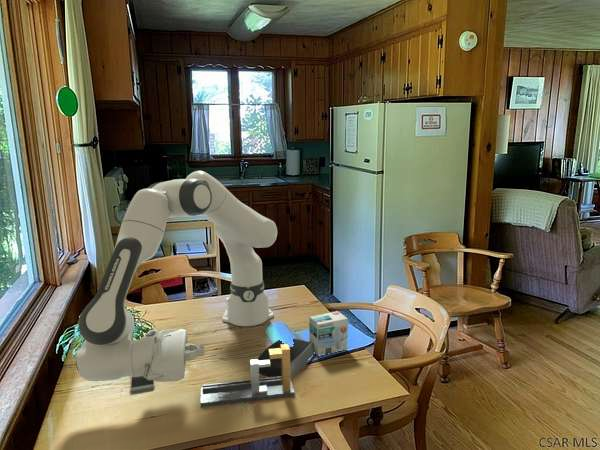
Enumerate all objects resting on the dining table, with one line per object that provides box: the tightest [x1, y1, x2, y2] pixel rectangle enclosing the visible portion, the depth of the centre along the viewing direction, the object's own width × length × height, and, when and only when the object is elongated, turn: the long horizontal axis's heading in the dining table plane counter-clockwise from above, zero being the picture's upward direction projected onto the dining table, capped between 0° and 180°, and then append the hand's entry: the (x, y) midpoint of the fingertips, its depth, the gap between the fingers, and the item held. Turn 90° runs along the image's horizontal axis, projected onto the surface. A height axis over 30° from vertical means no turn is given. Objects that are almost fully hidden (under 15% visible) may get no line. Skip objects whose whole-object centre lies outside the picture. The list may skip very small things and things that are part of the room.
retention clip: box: [249, 358, 270, 395], centre depth 117 cm, size 2×5×9 cm, turn 101°
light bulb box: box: [308, 310, 349, 356], centre depth 141 cm, size 11×7×11 cm, turn 114°
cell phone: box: [130, 376, 156, 395], centre depth 125 cm, size 6×11×1 cm, turn 18°
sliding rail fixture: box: [199, 344, 296, 408], centre depth 117 cm, size 7×24×13 cm, turn 101°
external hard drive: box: [256, 338, 315, 379], centre depth 135 cm, size 13×19×4 cm
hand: (204, 349), depth 115 cm, fingers closed
